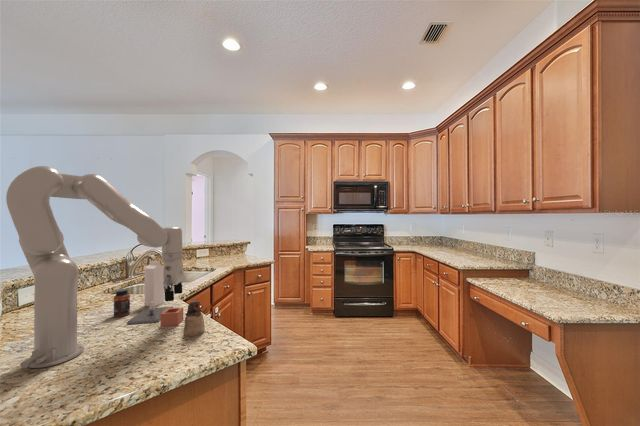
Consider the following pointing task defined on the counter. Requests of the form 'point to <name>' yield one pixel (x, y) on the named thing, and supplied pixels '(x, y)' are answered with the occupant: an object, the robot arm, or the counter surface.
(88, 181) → the robot arm
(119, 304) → the supplement bottle
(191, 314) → the figurine
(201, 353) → the counter surface
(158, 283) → the milk
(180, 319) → the red hollow square block
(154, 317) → the plate
